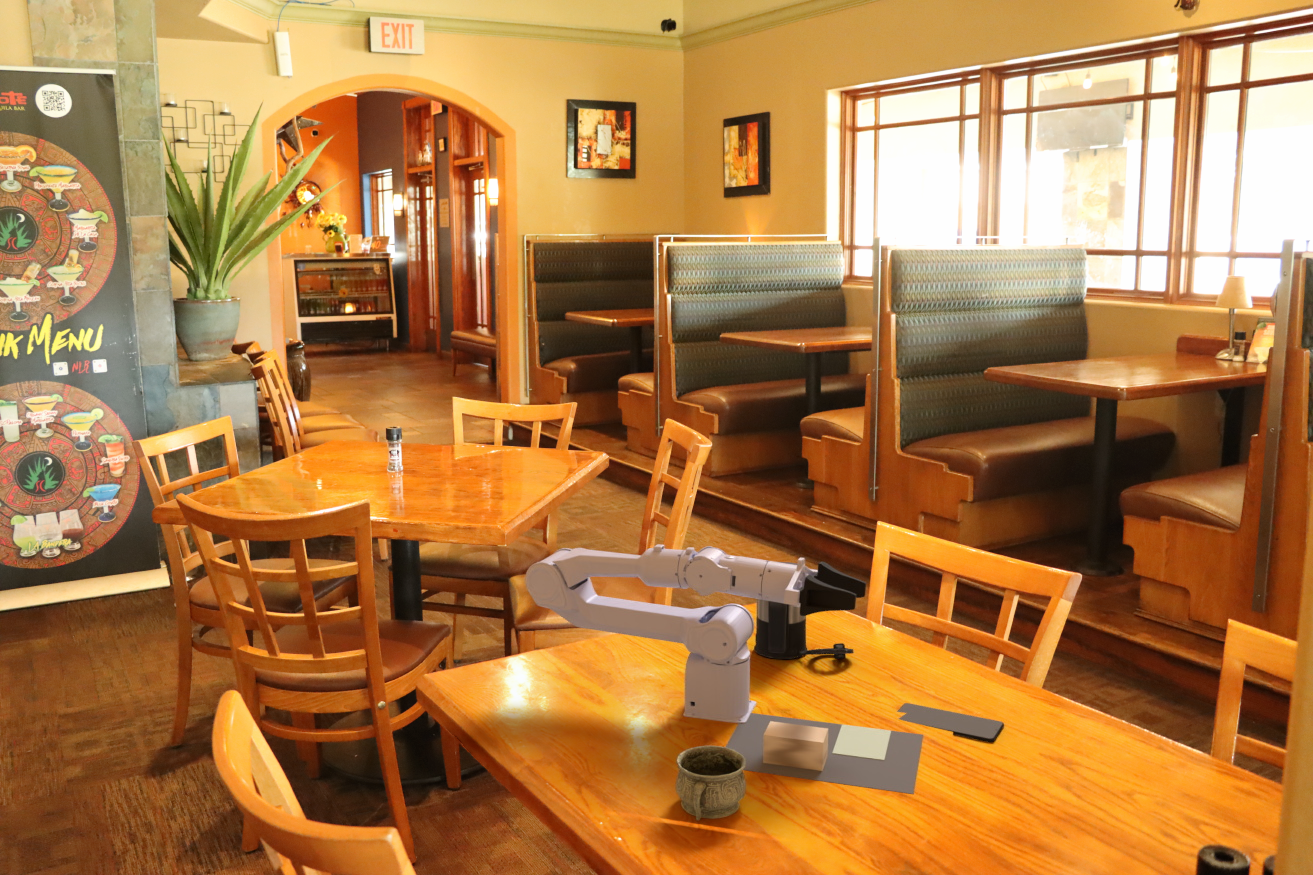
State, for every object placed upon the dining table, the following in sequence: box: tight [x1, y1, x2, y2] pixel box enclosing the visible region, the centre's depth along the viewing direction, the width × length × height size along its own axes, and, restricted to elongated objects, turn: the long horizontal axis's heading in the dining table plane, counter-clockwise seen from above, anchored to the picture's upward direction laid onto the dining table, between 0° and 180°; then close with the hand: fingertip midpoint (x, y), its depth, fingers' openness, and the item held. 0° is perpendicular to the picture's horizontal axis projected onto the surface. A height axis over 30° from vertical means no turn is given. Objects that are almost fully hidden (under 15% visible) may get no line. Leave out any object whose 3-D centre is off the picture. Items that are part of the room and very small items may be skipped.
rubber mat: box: [724, 712, 924, 795], centre depth 151 cm, size 26×18×1 cm
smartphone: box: [896, 702, 1005, 744], centre depth 161 cm, size 7×1×15 cm
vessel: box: [675, 745, 747, 821], centre depth 136 cm, size 12×9×6 cm
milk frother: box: [753, 561, 854, 660], centre depth 186 cm, size 14×16×15 cm
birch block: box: [763, 721, 828, 771], centre depth 148 cm, size 8×4×4 cm, turn 73°
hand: (860, 595), depth 154 cm, fingers open, 7 cm apart
